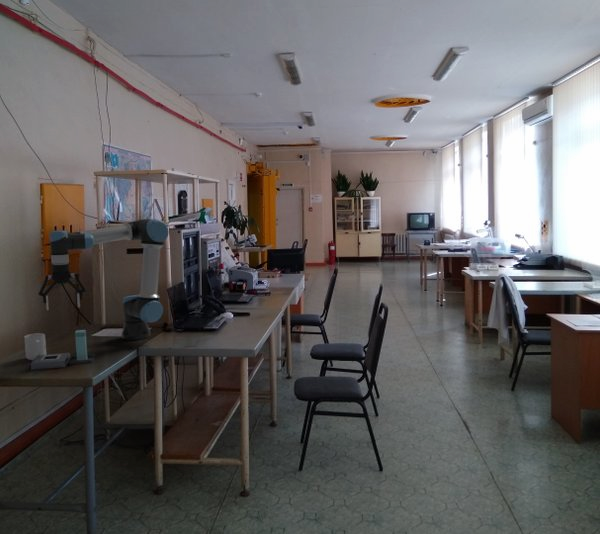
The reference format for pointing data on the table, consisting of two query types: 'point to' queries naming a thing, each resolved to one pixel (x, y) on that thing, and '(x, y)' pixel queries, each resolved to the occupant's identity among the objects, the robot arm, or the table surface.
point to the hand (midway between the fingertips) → (63, 308)
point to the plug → (81, 344)
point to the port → (50, 361)
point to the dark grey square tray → (89, 360)
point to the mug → (35, 345)
